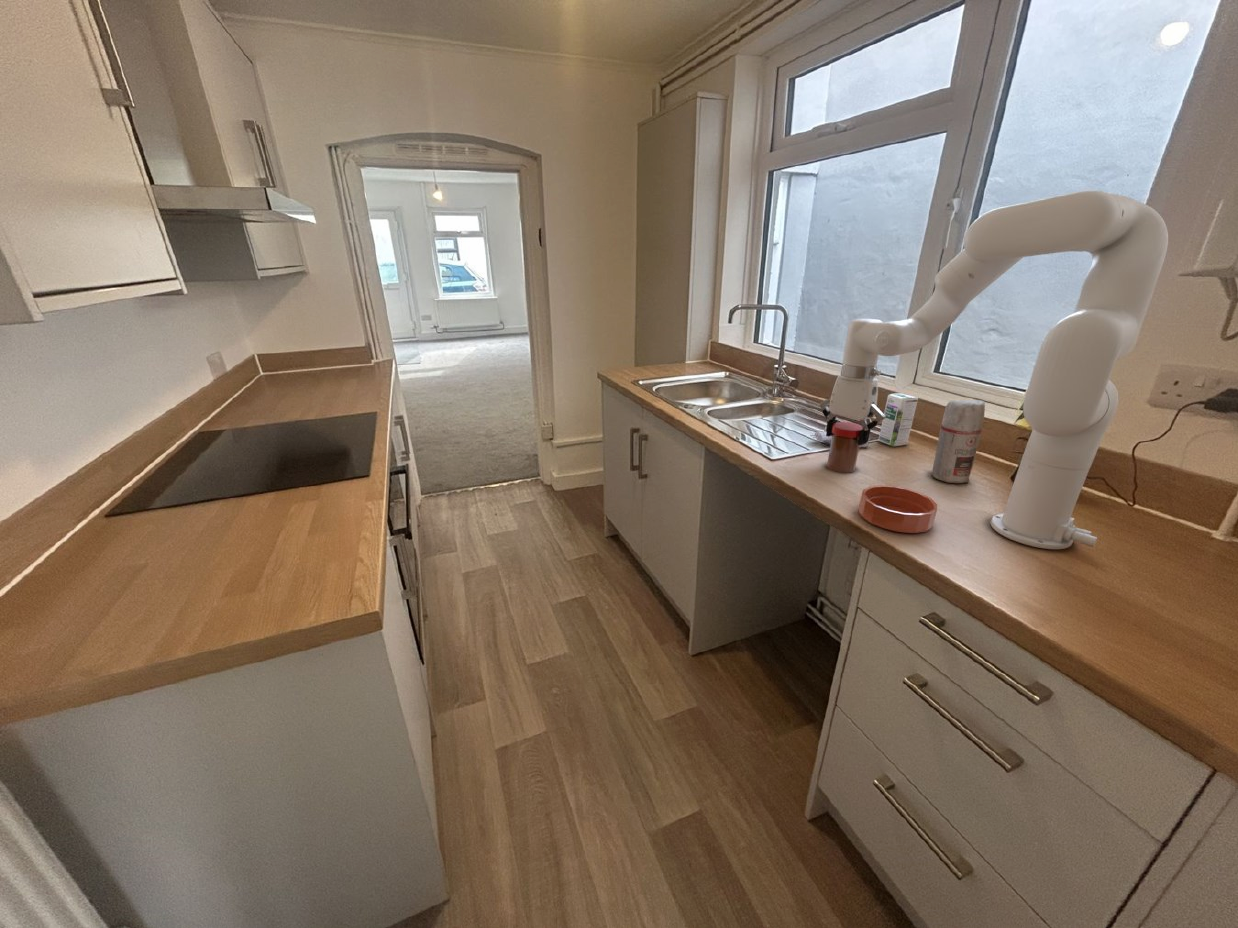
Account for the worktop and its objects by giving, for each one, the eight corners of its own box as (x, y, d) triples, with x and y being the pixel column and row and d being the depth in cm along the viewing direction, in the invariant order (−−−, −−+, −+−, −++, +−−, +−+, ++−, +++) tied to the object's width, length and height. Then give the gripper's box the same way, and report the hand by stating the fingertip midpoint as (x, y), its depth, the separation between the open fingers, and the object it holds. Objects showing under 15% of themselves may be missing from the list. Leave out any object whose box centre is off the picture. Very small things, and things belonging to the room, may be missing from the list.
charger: (804, 439, 148) (852, 438, 148) (817, 449, 139) (867, 448, 140) (806, 424, 146) (854, 423, 147) (819, 434, 137) (871, 433, 138)
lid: (859, 439, 118) (861, 432, 118) (828, 434, 122) (829, 427, 121) (864, 431, 124) (866, 424, 123) (835, 427, 128) (836, 420, 127)
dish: (943, 521, 100) (949, 502, 98) (912, 542, 92) (918, 521, 90) (878, 498, 110) (882, 480, 108) (845, 515, 102) (849, 496, 101)
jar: (859, 468, 126) (867, 429, 122) (847, 474, 122) (855, 435, 118) (834, 460, 131) (840, 423, 127) (822, 467, 127) (828, 429, 123)
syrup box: (877, 440, 146) (886, 394, 140) (892, 438, 147) (902, 392, 142) (892, 447, 141) (903, 398, 135) (908, 444, 142) (919, 397, 137)
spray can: (933, 482, 118) (954, 402, 110) (925, 469, 125) (944, 394, 117) (973, 486, 115) (997, 405, 108) (963, 473, 122) (985, 397, 115)
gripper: (902, 375, 113) (887, 445, 119) (833, 365, 126) (823, 428, 132) (886, 379, 109) (871, 452, 115) (816, 368, 122) (807, 434, 128)
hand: (845, 439), depth 124 cm, fingers open, 8 cm apart
